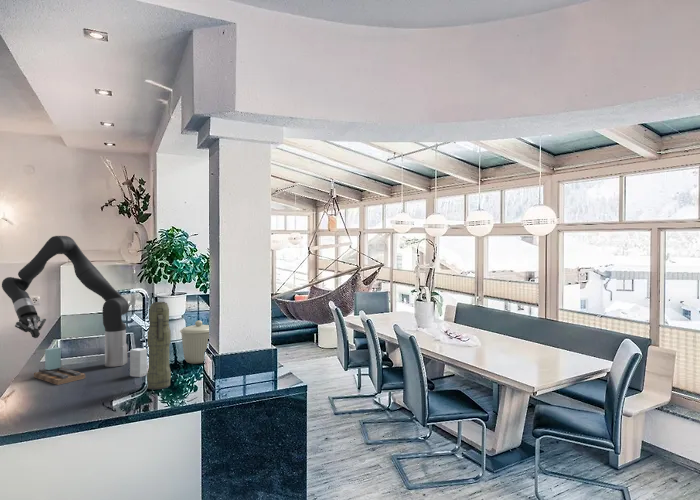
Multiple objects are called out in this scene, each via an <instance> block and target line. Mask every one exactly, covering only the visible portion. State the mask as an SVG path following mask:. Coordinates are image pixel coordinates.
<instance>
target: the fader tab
mask: <svg viewBox="0 0 700 500" xmlns="http://www.w3.org/2000/svg"><path fill="white" fill-rule="evenodd" d="M44 352H45V353H44V363H45V364H44V369H46V370H51V371H54V372H56V371H58V368H61V363H62V361H61V357H62V354H61V353H62V351H61V347H58V346H57V347H51V348H45V349H44Z"/></svg>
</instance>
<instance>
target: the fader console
mask: <svg viewBox="0 0 700 500" xmlns="http://www.w3.org/2000/svg"><path fill="white" fill-rule="evenodd" d="M33 378H35V379H38V380H42V381H44V382H48V383H50V384H54V385H57V386H60V385H62V384H63V385H64V384H68V383H73V382H76V381H81V380H83V379H86V373H83V372H80V371H76V370H72V369H69V368H66V367H61V368H58V371H56V372H54V371H51V370H46V369H45V368H40V369H38V371H36V372H33Z"/></svg>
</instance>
